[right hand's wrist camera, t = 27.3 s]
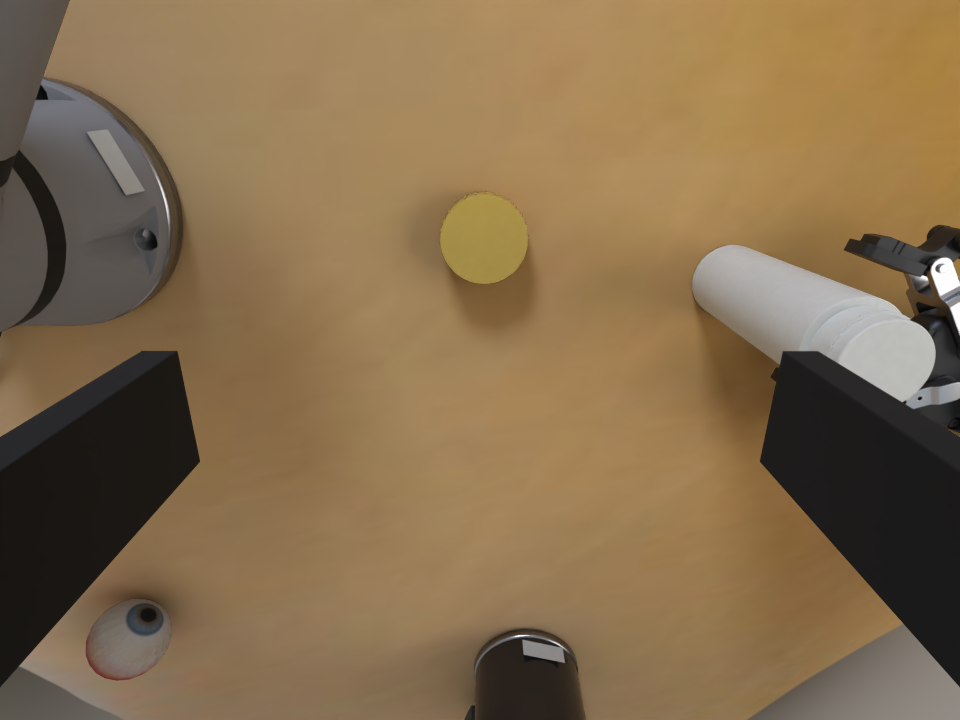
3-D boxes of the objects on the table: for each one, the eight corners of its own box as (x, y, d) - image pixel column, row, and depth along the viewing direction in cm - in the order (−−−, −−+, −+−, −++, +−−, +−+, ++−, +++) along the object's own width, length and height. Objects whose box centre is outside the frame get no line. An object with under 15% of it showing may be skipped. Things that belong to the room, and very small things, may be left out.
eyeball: (199, 604, 49) (162, 663, 43) (164, 646, 50) (125, 709, 45) (136, 569, 47) (90, 626, 42) (103, 613, 49) (54, 674, 43)
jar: (676, 284, 39) (802, 372, 24) (732, 229, 37) (902, 285, 22) (723, 328, 40) (870, 439, 25) (778, 277, 39) (969, 361, 23)
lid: (529, 193, 37) (532, 196, 34) (522, 278, 39) (525, 287, 36) (442, 188, 36) (440, 191, 34) (440, 275, 38) (438, 283, 36)
